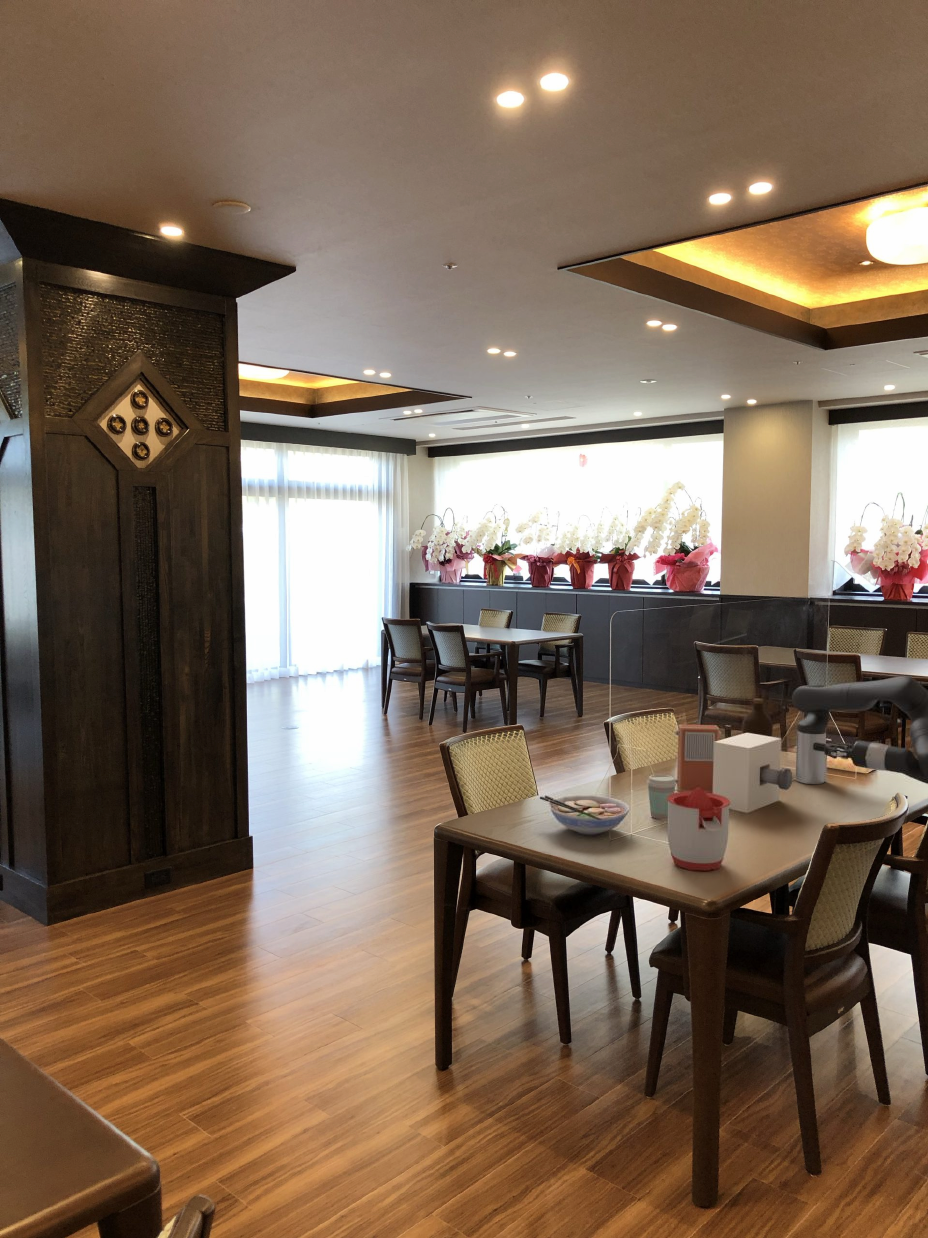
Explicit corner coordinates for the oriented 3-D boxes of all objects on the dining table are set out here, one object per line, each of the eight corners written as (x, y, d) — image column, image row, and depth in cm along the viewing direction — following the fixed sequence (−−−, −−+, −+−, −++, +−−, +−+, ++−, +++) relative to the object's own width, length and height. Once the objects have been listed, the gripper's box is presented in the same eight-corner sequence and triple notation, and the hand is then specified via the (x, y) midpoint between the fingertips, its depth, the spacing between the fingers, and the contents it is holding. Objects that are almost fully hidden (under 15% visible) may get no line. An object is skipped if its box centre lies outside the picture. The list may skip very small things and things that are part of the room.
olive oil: (763, 772, 335) (766, 702, 333) (735, 767, 342) (738, 699, 340) (776, 766, 343) (778, 699, 341) (748, 762, 350) (751, 695, 348)
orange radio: (672, 786, 315) (718, 788, 314) (675, 792, 308) (722, 793, 307) (674, 723, 313) (720, 724, 312) (676, 728, 306) (723, 729, 305)
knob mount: (744, 792, 308) (746, 732, 306) (779, 800, 299) (781, 738, 297) (712, 804, 294) (714, 741, 292) (747, 813, 285) (749, 748, 284)
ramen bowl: (649, 836, 263) (649, 808, 262) (585, 850, 251) (585, 820, 250) (591, 814, 284) (591, 787, 283) (530, 826, 272) (530, 798, 271)
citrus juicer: (682, 879, 230) (684, 799, 228) (656, 855, 247) (658, 781, 245) (742, 875, 233) (744, 796, 231) (712, 852, 250) (714, 778, 248)
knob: (764, 782, 295) (765, 762, 294) (792, 787, 289) (792, 767, 288) (754, 786, 291) (755, 765, 290) (782, 791, 284) (782, 771, 284)
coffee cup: (678, 815, 283) (679, 776, 282) (670, 823, 275) (671, 782, 274) (651, 811, 287) (651, 772, 286) (642, 818, 279) (643, 779, 278)
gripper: (882, 739, 271) (824, 730, 284) (863, 746, 262) (804, 736, 274) (881, 765, 272) (823, 755, 284) (862, 772, 263) (803, 762, 275)
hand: (814, 746), depth 279 cm, fingers closed
